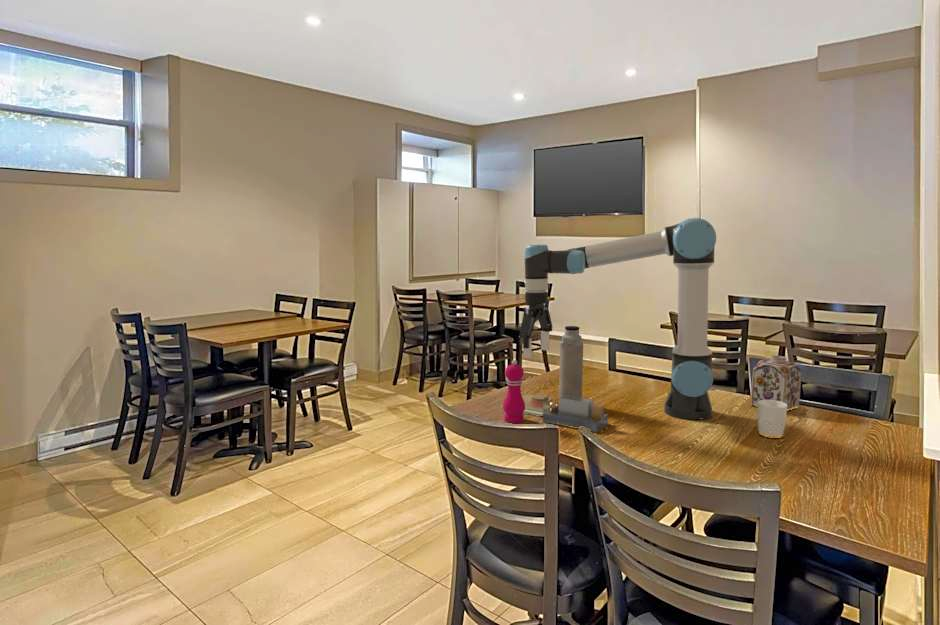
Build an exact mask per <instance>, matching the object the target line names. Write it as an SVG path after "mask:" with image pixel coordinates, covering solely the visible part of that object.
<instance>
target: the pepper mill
mask: <svg viewBox="0 0 940 625" xmlns="http://www.w3.org/2000/svg"><path fill="white" fill-rule="evenodd" d="M524 373H525V371H524V368H523V367H522V365H519V364H518V361H517V360H516V359H513V360H512V361H511V364H509V365H508V366H506V367H505V370H504V376H505V377H506V378H507V379H506V384H507V392H506V395H505V398H504V401H503V404H502V409H503V411H504V412H505V413H504V414H503V415H504V417H503V419H504V421H505V422H506V423H510V422H512V423H513V424H517V423H518V424H519V423H522V422H524V419H525V418H524V416H525V414H523V412H524V410H525V403H524V400H523V398H522V396H523V395H522V391H521V390H522V389H521V386H522V384H523V377H524ZM512 423H511V424H512Z"/></svg>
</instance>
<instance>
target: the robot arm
mask: <svg viewBox="0 0 940 625" xmlns="http://www.w3.org/2000/svg"><path fill="white" fill-rule="evenodd" d="M716 233H717V232H716V230H715V228H714V227H713V225H712V224H711V223H710V222H709V221H707V220H706V219H703V218H700V217H693V218H688V219H685V220H683V221H681V222H680V223H677V224H673V225H670V226H669V225H668V226H664V227H663V228H662V230H660V231H656V232H650V233H645V234H640V235H635V236H630V237H625V238H621V239H616V240H615V239H614V240H610V241H605V242H599V243H596V244H594V243H593V244H589V245H585V246H580V247H574V248H569V249H566V250H565V249H564V250H550V249H549V248H548V247H549V246H548V245H547V244H527V245H526V246H525V249H524V274H525V275H524V287H525V288H524V290H525V291H526V292H525V293H524V296H525V297H524V302H525V303H526V304H528V307H524V308H523V316H522V321H521V325H520V326H521V327H520V330H519V338H520V339H522V357H523V358H525V359H532V356H533V355H532V353H533V352H532V348H533V347H532V343H533V342H532V338H531V336H532V333H533V329H534V327H535V324H536V322H537V321H538V323H539V326H540V327H541V329H542V331H541V334H540V336H541V338H540V343H541V344H540V347H541V348H540V350H541V351H547V352H548V351H550V332H553V323H552V318H551V314H550V311H549V308H550V307H549V303H548V301H549V300H548V299H549V294H548V293H549V292H548V290H549V283H548V282H549V277H548V275H549V274H562V275H563V274H566V275H568V274H569V275H570V274H571V275H575V274H583V273H584V272H585V269H590V268H596V267H601V266H607V265H611V264H617V263H622V262H630V261H632V260H633V261H634V260H638V259H644V258H651V257H656V256H661V255H666V256H669V257H672V258H673V260H672V261H673V262H672V264H673V265H674V266H675V267H676V268H677V269H678V275H677V276H678V277H677V278H678V280H677V281H678V282H677V284H678V285H677V286H678V288H677V294H678V295H677V297H678V298H677V345H674V346H673V347H672V351H671V355H672V357H671V373H670V374H671V377H670V390H669V392H668V395H667V397H666V400H665V401H664V404H663V405H664V409H663V410H664V413H666V414H667V415H669V416H672V417H674V418H678V419H683V418H684V420H693V419H699V420H701V419H700V418H707V417H710V416H711V415H712V416H713V406H712V404H711V400H710V397H709V393H708V391H710V389H711V388H712V385H713V383H714V375H713V351H712V350H711V349H710V347H708V322H709V321H708V317H709V314H708V313H709V312H708V311H709V269H710V268H711V267H712V266H713V265H714V264H715V245H716V242H717V234H716ZM712 416H711V417H712ZM711 417H710V418H711ZM707 419H708V418H707Z"/></svg>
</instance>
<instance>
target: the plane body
mask: <svg viewBox="0 0 940 625" xmlns="http://www.w3.org/2000/svg"><path fill="white" fill-rule="evenodd" d="M544 422H547V423H546V424H549V423H553V424H552V425H554V424H557V423H559V424H560V425H562V424H563V425H568V426H573V427H577V428H578V427H580V426H584V427H586V428H588V429H590V430H591V431H593V432H592V433H596V434H597V433H598V432H599V431H600V430H602V429H603V428H605V426H607V425H608V424H609V414H608V413H607V414H606V413H605V405H603V404H599V403H594V399H591V398H584V397H582V398H580V397H574V396H568V395H563V396H561V397H560V398H559V397H558V401H552V402H550V409H549V410H548V411H546V412H544V413H543V417H542V423H544Z"/></svg>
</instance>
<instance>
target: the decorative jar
mask: <svg viewBox="0 0 940 625" xmlns="http://www.w3.org/2000/svg"><path fill="white" fill-rule="evenodd" d="M751 379H752V380H751V390H750V391H751V392H750V404H751V405H755V406H758V401H760V400H776V401H780V402H784V403H786V404H787V405H788V408H787V409H790V408H792V407H795V406H800V400H801V399H800V397H801V384H802V370H801V368H800V367H799V366H798V365H797V364H796V363H795V362H793V361H790V360H789V361H788V360H787V358H786V356H782V355H771V356H770V359H769V358H768V359H767V358H766V359H762V360H759V361H758V362H757V364H755V366H754V367H753V371H752V378H751ZM751 405H750V406H751Z"/></svg>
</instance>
